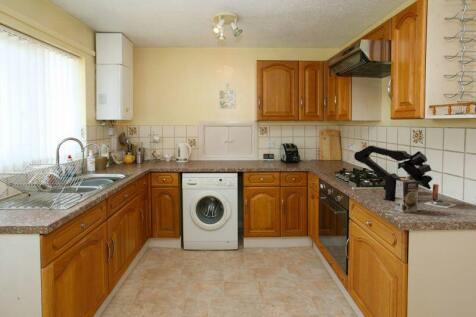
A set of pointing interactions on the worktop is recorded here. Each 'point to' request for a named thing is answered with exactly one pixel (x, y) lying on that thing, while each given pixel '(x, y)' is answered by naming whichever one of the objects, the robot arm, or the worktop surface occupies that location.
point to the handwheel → (435, 197)
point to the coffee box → (406, 195)
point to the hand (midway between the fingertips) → (430, 188)
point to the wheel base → (440, 205)
